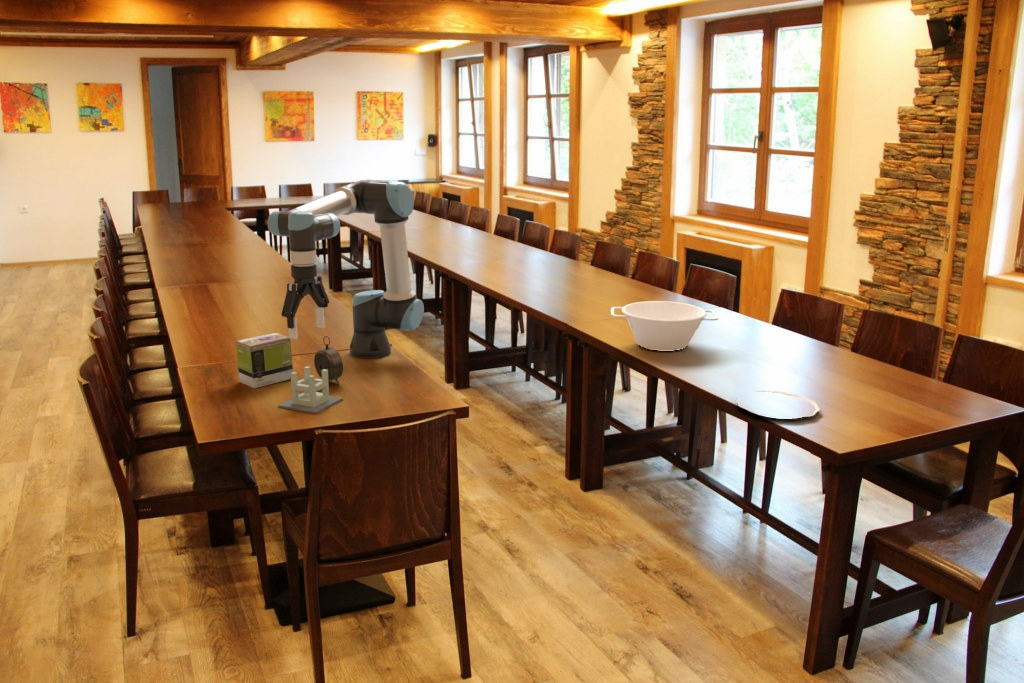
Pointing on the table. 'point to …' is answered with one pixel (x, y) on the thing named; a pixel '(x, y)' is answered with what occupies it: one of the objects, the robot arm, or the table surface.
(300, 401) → the stool
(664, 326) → the pot
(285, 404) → the mat
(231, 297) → the table surface
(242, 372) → the tea box
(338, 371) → the alarm clock
